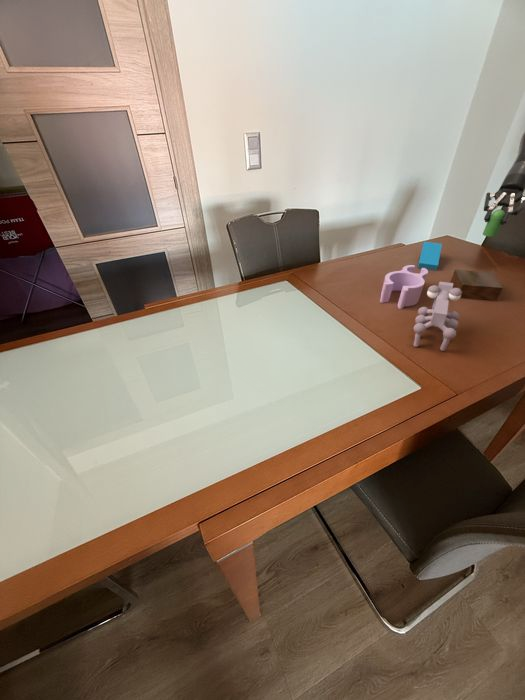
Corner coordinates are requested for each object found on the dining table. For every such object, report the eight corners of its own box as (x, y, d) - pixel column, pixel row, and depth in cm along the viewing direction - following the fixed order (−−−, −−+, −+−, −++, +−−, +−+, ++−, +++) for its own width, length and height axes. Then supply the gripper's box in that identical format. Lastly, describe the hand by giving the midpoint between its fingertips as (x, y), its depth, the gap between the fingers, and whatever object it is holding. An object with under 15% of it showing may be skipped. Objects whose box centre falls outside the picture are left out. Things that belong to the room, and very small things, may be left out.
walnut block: (485, 284, 111) (491, 272, 108) (496, 301, 102) (503, 287, 99) (450, 281, 114) (454, 269, 111) (457, 297, 105) (462, 284, 102)
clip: (397, 279, 117) (402, 262, 113) (430, 289, 110) (437, 271, 106) (373, 299, 106) (377, 281, 102) (408, 311, 99) (414, 293, 95)
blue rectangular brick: (432, 279, 126) (437, 252, 134) (438, 265, 120) (442, 238, 129) (414, 276, 128) (420, 250, 137) (419, 263, 122) (425, 236, 131)
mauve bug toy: (416, 311, 99) (429, 273, 91) (452, 319, 95) (469, 279, 87) (406, 345, 86) (421, 304, 77) (448, 356, 82) (468, 314, 73)
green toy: (494, 233, 116) (505, 208, 110) (498, 237, 113) (509, 211, 107) (481, 232, 117) (491, 207, 111) (484, 236, 114) (495, 211, 108)
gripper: (495, 170, 110) (473, 213, 111) (544, 173, 103) (519, 220, 104) (492, 184, 117) (471, 224, 117) (538, 188, 109) (515, 231, 110)
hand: (494, 222), depth 111 cm, fingers closed on green toy, 4 cm apart
